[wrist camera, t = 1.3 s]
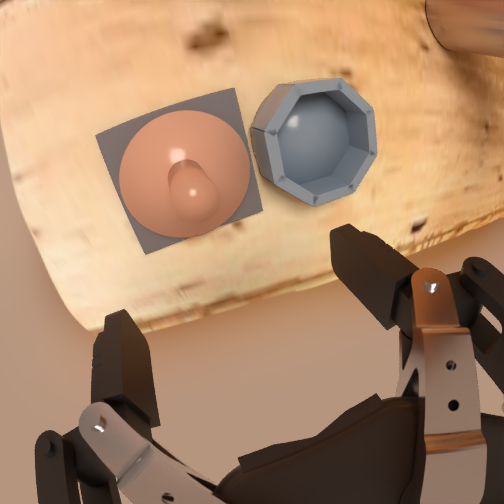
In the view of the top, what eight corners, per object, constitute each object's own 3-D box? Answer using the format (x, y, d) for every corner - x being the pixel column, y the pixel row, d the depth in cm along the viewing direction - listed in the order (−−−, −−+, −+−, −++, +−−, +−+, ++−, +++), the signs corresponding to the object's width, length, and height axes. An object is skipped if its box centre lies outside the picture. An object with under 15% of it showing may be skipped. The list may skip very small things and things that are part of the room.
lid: (230, 94, 21) (260, 93, 15) (257, 208, 27) (289, 243, 22) (102, 138, 20) (82, 154, 14) (148, 248, 26) (150, 296, 20)
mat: (232, 88, 22) (234, 87, 21) (260, 208, 28) (263, 210, 28) (96, 134, 20) (95, 135, 19) (145, 251, 26) (145, 254, 26)
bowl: (343, 75, 24) (369, 76, 20) (355, 173, 30) (378, 184, 27) (239, 91, 22) (254, 91, 19) (264, 202, 28) (281, 218, 25)
